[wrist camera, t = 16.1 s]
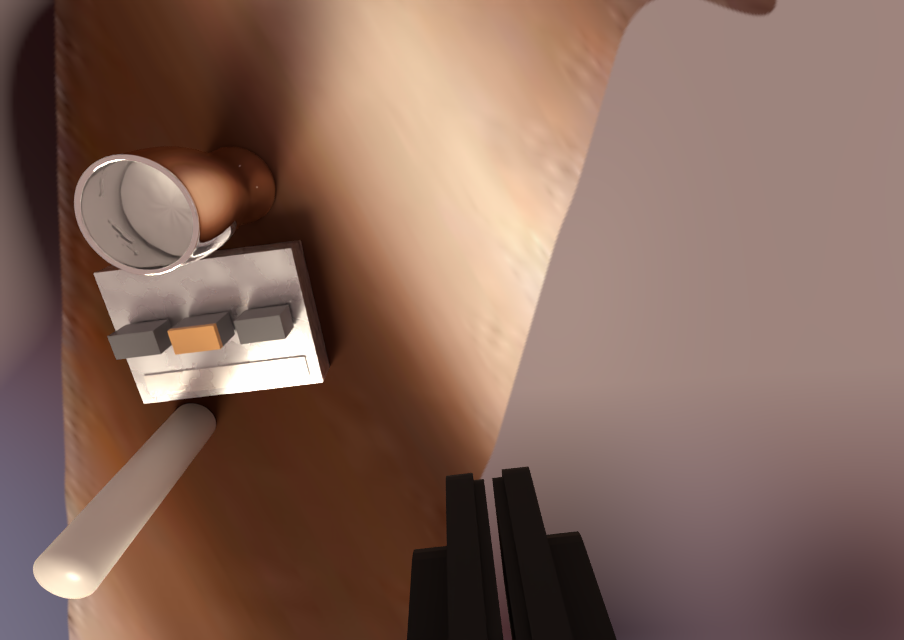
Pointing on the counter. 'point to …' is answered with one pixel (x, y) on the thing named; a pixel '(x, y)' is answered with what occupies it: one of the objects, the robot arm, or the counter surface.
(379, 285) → the counter surface
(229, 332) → the paddle mid
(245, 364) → the breaker panel
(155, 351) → the grey rectangular box
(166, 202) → the beer glass
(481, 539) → the robot arm
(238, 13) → the counter surface
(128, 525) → the post
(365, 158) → the counter surface
